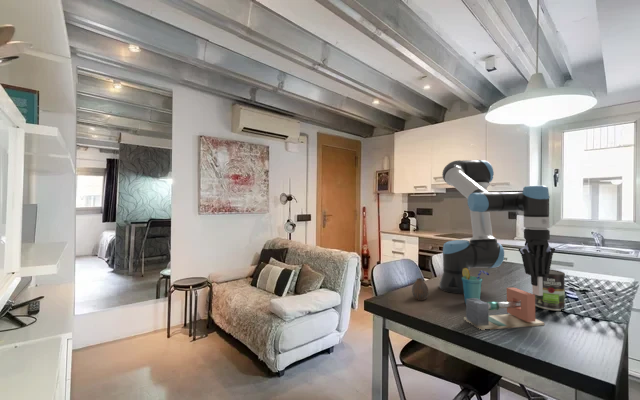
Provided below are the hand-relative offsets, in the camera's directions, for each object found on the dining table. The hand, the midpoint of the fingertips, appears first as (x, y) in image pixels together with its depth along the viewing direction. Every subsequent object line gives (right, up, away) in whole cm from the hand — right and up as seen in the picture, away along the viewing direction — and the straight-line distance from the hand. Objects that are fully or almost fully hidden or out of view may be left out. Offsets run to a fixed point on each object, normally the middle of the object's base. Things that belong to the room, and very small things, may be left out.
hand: (537, 294), depth 106 cm
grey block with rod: (-14, -9, -2) cm, 17 cm away
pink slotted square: (-7, -8, -1) cm, 10 cm away
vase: (-34, -10, +24) cm, 43 cm away
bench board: (-14, -9, -2) cm, 17 cm away
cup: (-14, -10, +16) cm, 24 cm away
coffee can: (+14, -9, +13) cm, 21 cm away
